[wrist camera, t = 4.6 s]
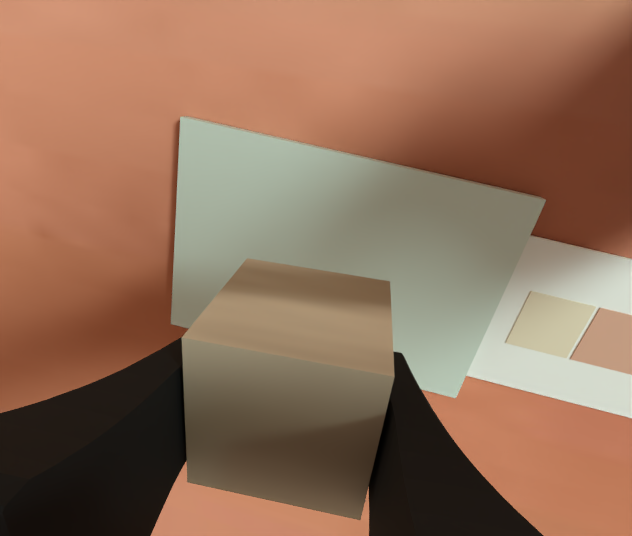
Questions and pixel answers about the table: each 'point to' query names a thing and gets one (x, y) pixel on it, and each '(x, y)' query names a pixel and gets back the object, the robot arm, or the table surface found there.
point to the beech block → (289, 386)
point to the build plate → (350, 235)
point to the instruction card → (564, 328)
